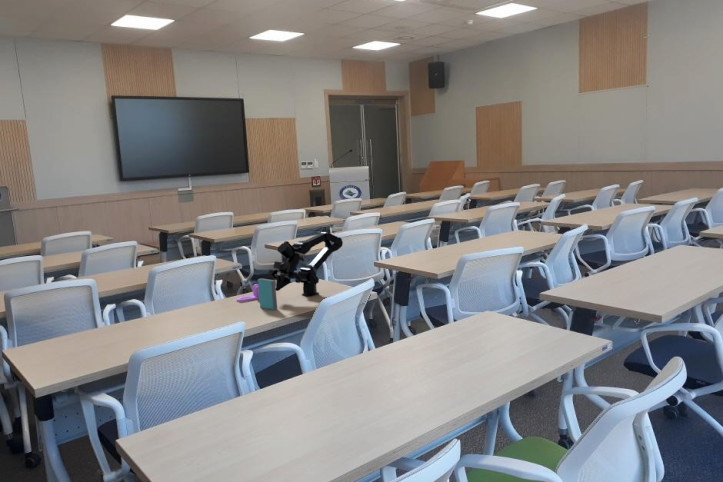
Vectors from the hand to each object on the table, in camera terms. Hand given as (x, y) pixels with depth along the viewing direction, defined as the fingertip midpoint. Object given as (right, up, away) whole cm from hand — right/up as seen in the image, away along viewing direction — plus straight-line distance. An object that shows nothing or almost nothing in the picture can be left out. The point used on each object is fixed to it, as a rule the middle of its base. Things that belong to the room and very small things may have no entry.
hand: (276, 290), depth 273 cm
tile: (-3, -8, -3) cm, 9 cm away
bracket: (-16, -6, +16) cm, 23 cm away
